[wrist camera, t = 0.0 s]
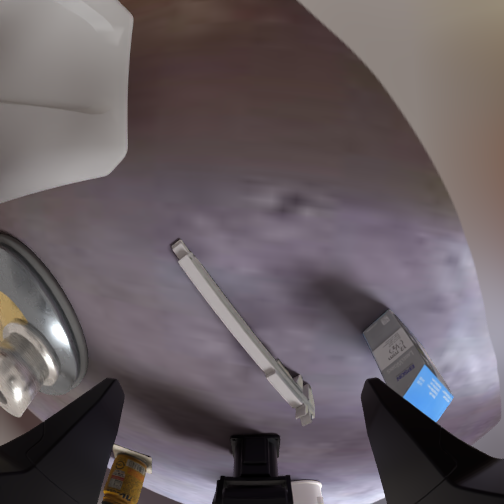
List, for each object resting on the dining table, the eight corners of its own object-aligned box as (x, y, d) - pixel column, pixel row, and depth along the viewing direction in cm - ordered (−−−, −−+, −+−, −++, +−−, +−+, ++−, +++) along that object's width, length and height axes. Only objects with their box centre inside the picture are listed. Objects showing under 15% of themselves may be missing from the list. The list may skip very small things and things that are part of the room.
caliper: (310, 383, 28) (319, 427, 22) (302, 387, 28) (310, 431, 22) (181, 237, 22) (157, 267, 17) (172, 245, 23) (145, 276, 17)
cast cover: (72, 384, 25) (41, 434, 17) (26, 370, 26) (-4, 410, 17) (43, 322, 23) (-2, 370, 14) (0, 314, 23) (-40, 351, 15)
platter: (105, 402, 28) (101, 410, 27) (6, 370, 29) (1, 376, 27) (45, 234, 21) (36, 239, 20) (-43, 244, 21) (-50, 247, 20)
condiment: (115, 460, 37) (99, 507, 25) (111, 442, 34) (91, 496, 23) (151, 472, 37) (139, 522, 26) (152, 456, 35) (136, 513, 23)
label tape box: (423, 347, 26) (474, 422, 15) (397, 369, 27) (438, 449, 16) (388, 306, 24) (452, 395, 13) (357, 334, 25) (404, 431, 14)
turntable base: (112, 399, 29) (109, 404, 28) (8, 368, 30) (6, 372, 29) (54, 226, 22) (48, 229, 21) (-40, 238, 22) (-44, 240, 21)
